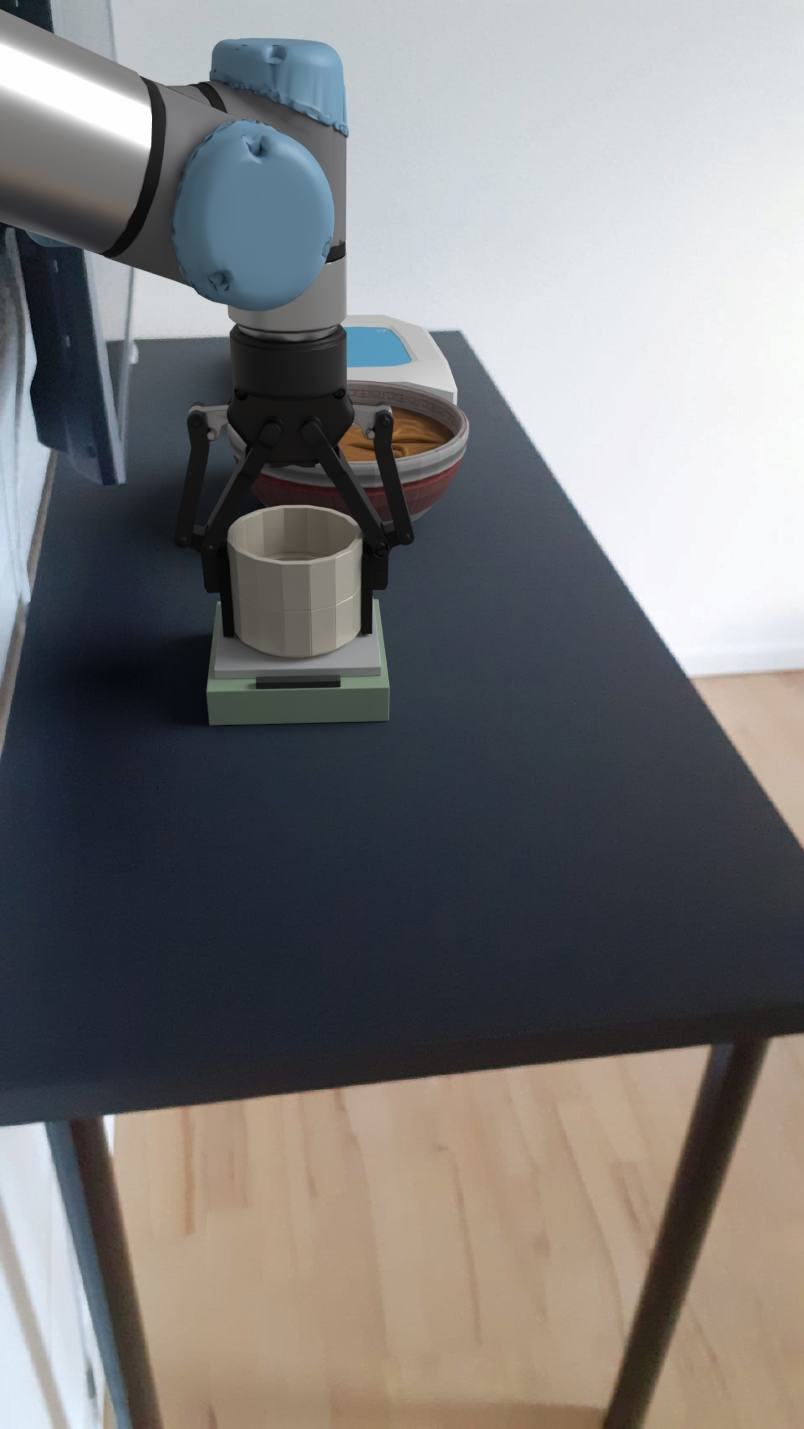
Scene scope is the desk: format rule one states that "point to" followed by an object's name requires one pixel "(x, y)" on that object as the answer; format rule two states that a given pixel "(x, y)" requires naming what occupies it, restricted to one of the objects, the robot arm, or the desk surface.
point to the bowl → (420, 444)
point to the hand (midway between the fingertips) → (298, 626)
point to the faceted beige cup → (296, 579)
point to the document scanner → (396, 355)
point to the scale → (298, 682)
